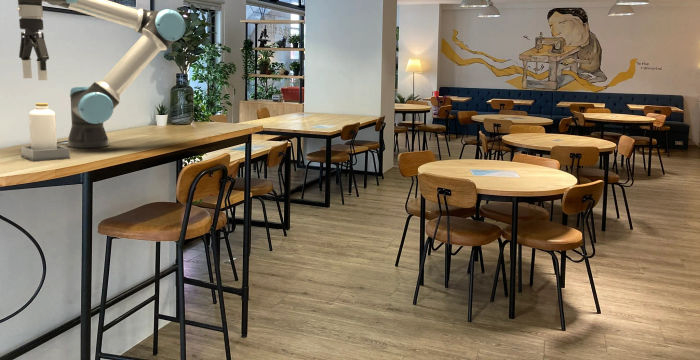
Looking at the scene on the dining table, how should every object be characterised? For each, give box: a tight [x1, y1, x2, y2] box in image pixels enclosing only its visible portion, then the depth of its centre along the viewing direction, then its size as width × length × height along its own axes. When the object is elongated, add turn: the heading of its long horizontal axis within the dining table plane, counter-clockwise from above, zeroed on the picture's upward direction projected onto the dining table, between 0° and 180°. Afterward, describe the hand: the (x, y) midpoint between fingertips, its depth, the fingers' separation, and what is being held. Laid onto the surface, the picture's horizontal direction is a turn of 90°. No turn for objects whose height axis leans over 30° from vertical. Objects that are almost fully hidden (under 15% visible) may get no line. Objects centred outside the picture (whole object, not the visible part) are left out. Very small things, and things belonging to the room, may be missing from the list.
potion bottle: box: [28, 102, 58, 151], centre depth 221 cm, size 8×8×18 cm
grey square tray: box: [20, 144, 71, 162], centre depth 222 cm, size 12×12×4 cm
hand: (35, 79), depth 227 cm, fingers open, 13 cm apart
